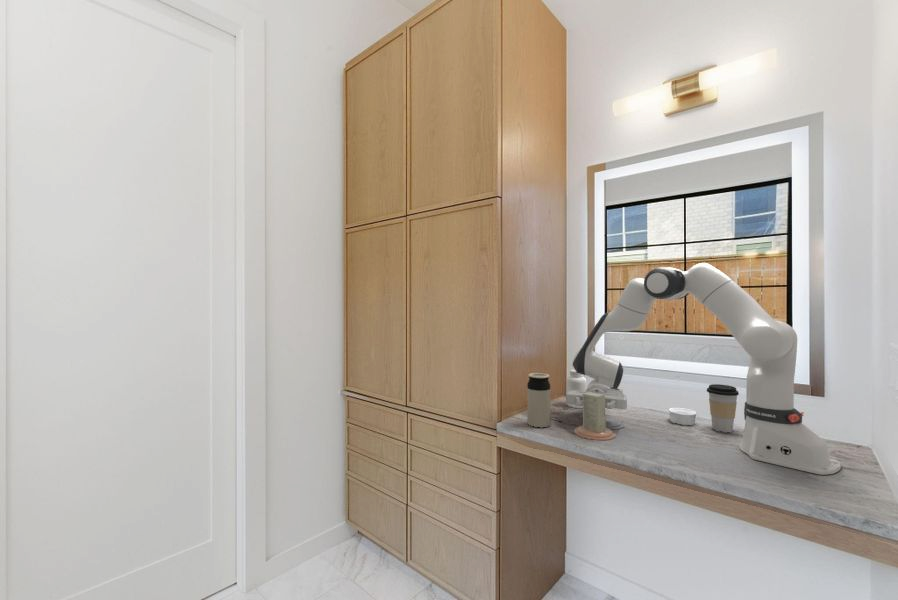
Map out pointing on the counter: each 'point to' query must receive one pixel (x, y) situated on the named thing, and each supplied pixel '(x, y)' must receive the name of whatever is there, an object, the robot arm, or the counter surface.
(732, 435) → the counter surface
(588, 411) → the skincare box
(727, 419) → the coffee cup
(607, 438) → the terracotta dish
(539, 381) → the travel mug
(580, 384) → the pill bottle
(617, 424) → the slate dish
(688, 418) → the ramekin
